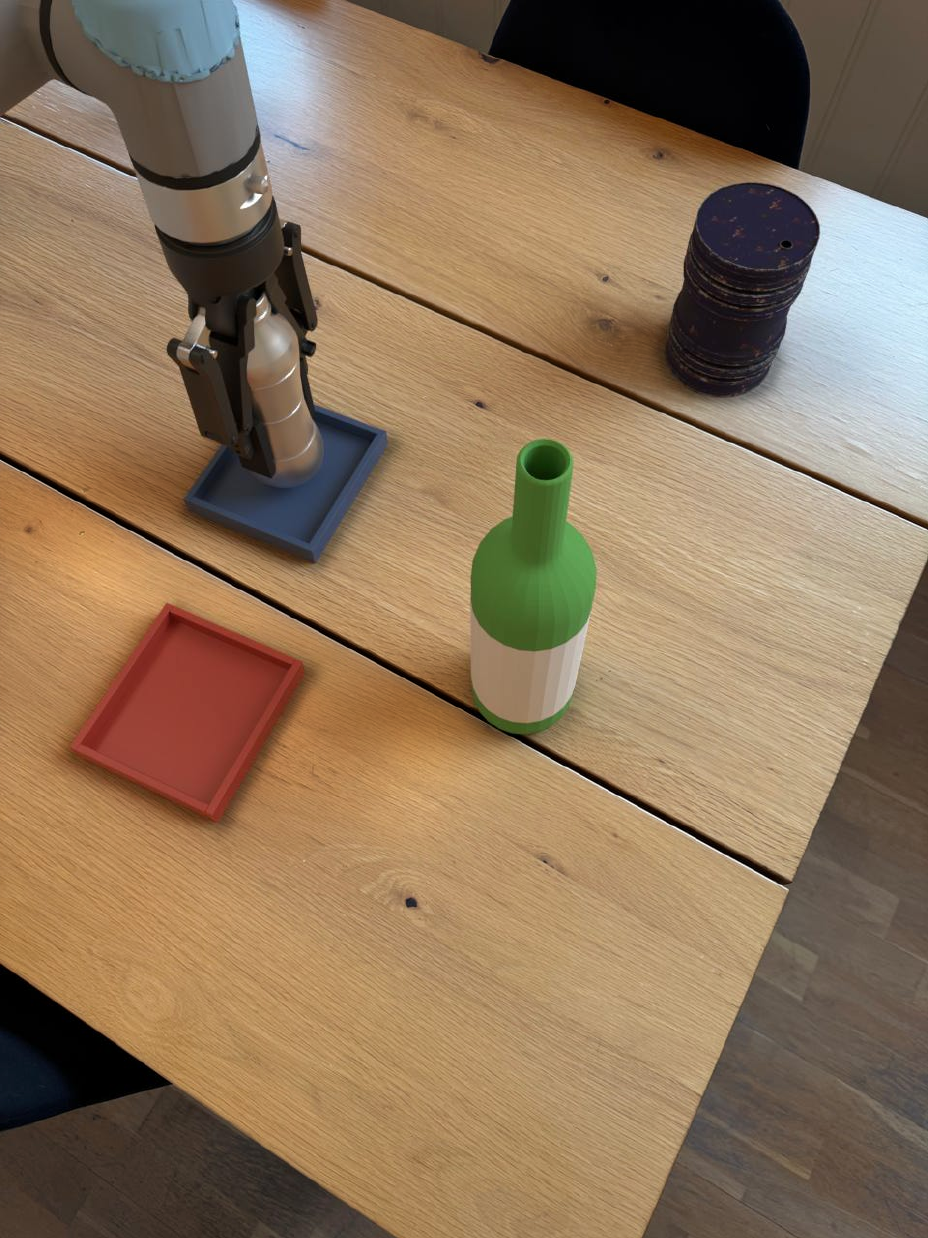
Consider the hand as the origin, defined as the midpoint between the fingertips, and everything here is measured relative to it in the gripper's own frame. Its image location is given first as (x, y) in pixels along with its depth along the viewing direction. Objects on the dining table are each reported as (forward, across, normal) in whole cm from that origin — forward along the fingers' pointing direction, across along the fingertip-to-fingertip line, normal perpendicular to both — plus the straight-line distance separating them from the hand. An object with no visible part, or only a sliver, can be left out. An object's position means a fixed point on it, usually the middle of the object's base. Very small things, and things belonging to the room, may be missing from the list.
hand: (279, 438), depth 82 cm
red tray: (+5, -22, -4) cm, 23 cm away
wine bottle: (+6, -10, -26) cm, 28 cm away
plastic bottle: (+4, 0, 0) cm, 4 cm away
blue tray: (+5, 0, 0) cm, 5 cm away
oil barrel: (+6, +28, -29) cm, 41 cm away
